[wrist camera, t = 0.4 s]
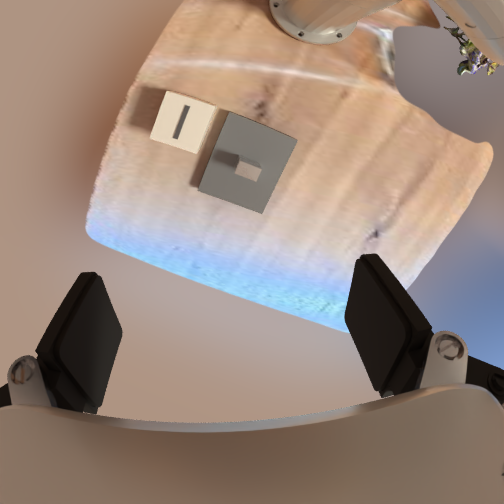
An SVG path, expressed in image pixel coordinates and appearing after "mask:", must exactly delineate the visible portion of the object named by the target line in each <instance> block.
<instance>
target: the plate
mask: <svg viewBox="0 0 504 504" xmlns="http://www.w3.org/2000/svg"><path fill="white" fill-rule="evenodd" d="M297 141H298V140H296V139H294V138H292V137H290V136H288V135H286V134H283V133H281V132H279V131H277V130H274V129H272V128H270V127H267V126H265V125H263V124H260V123H258V122H255V121H253V120H251V119H248V118H246V117H243V116H240V115H238V114H235V113H233V112H229V114H228V116H227V118H226V121H225V123H224V125H223V128H222V130H221V133H220V135H219V137H218V140H217V142H216V145H215V147H214V149H213V152H212V154H211V157H210V159H209V162H208V164H207V167H206V170H205V172H204V175H203V177H202V180H201V183H200V185H199V188H198V191H200V192H203V193H206V194H208V195H211V196H214V197H217V198H220V199H223V200H225V201H228V202H231V203H234V204H236V205H239V206H242V207H245V208H247V209H250V210H253V211H255V212H258V213H261V214H262V213H263V211H264V209H265V207H266V205H267V203H268V201H269V199H270V196H271V194H272V192H273V190H274V188H275V186H276V184H277V182H278V180H279V178H280V176H281V174H282V172H283V170H284V168H285V166H286V164H287V162H288V159H289V157H290V155H291V153H292V151H293V149H294V147H295V145H296V143H297ZM239 155H240V156H243V157H245V158H248V159H250V160H253V161H255V162H258V163H260V166H261V168H262V170H261V172H260V175H259V177H258V179H257V181H256V182H255V181H253V180H250V179H248V178H245V177H243V176H240V175H237V174H235V173H234V166H235V163H236V161H237V159H238V156H239Z"/></svg>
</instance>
